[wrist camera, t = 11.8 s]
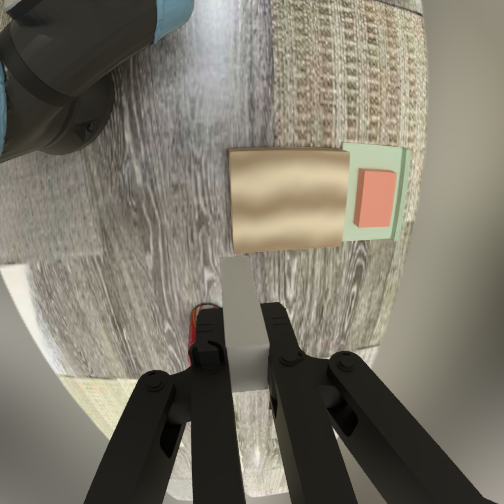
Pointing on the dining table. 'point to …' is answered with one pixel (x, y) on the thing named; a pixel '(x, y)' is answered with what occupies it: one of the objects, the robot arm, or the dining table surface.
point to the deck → (287, 197)
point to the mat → (384, 160)
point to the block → (374, 197)
